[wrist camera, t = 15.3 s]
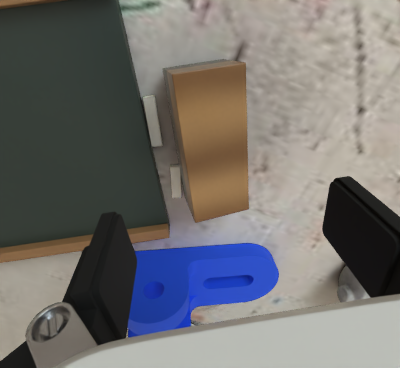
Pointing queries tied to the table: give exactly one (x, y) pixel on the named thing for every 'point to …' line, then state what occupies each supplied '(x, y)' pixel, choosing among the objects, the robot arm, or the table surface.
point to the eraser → (210, 135)
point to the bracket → (195, 283)
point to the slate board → (71, 130)
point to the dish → (350, 287)
